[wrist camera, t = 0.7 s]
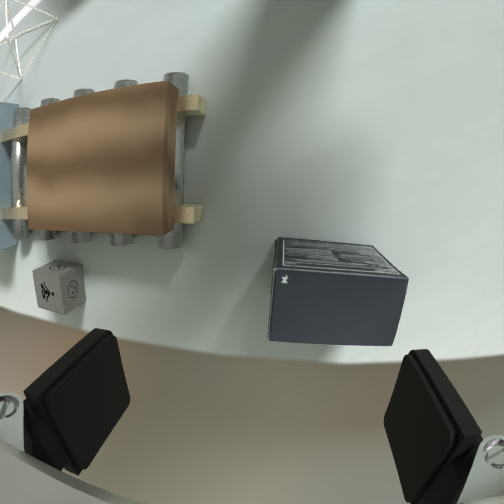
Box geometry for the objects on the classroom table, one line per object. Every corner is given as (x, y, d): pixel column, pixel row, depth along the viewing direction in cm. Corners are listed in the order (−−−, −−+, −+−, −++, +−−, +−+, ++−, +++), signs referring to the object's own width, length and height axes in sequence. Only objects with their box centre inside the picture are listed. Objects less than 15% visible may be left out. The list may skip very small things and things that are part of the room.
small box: (271, 295, 33) (264, 344, 23) (275, 236, 32) (270, 264, 21) (365, 301, 32) (393, 350, 22) (374, 244, 31) (411, 274, 20)
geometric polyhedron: (55, 0, 26) (20, -19, 18) (63, 40, 28) (22, 22, 19) (5, 49, 29) (-31, 39, 20) (10, 92, 31) (-31, 86, 22)
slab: (46, 112, 28) (30, 110, 25) (179, 88, 26) (167, 80, 23) (44, 225, 31) (28, 229, 28) (174, 229, 29) (162, 235, 27)
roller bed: (17, 114, 31) (3, 113, 28) (207, 78, 28) (200, 69, 25) (16, 233, 36) (3, 237, 33) (201, 244, 33) (193, 251, 30)
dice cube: (56, 260, 36) (32, 270, 31) (82, 264, 35) (59, 276, 30) (60, 294, 37) (38, 307, 32) (86, 300, 36) (64, 314, 32)
